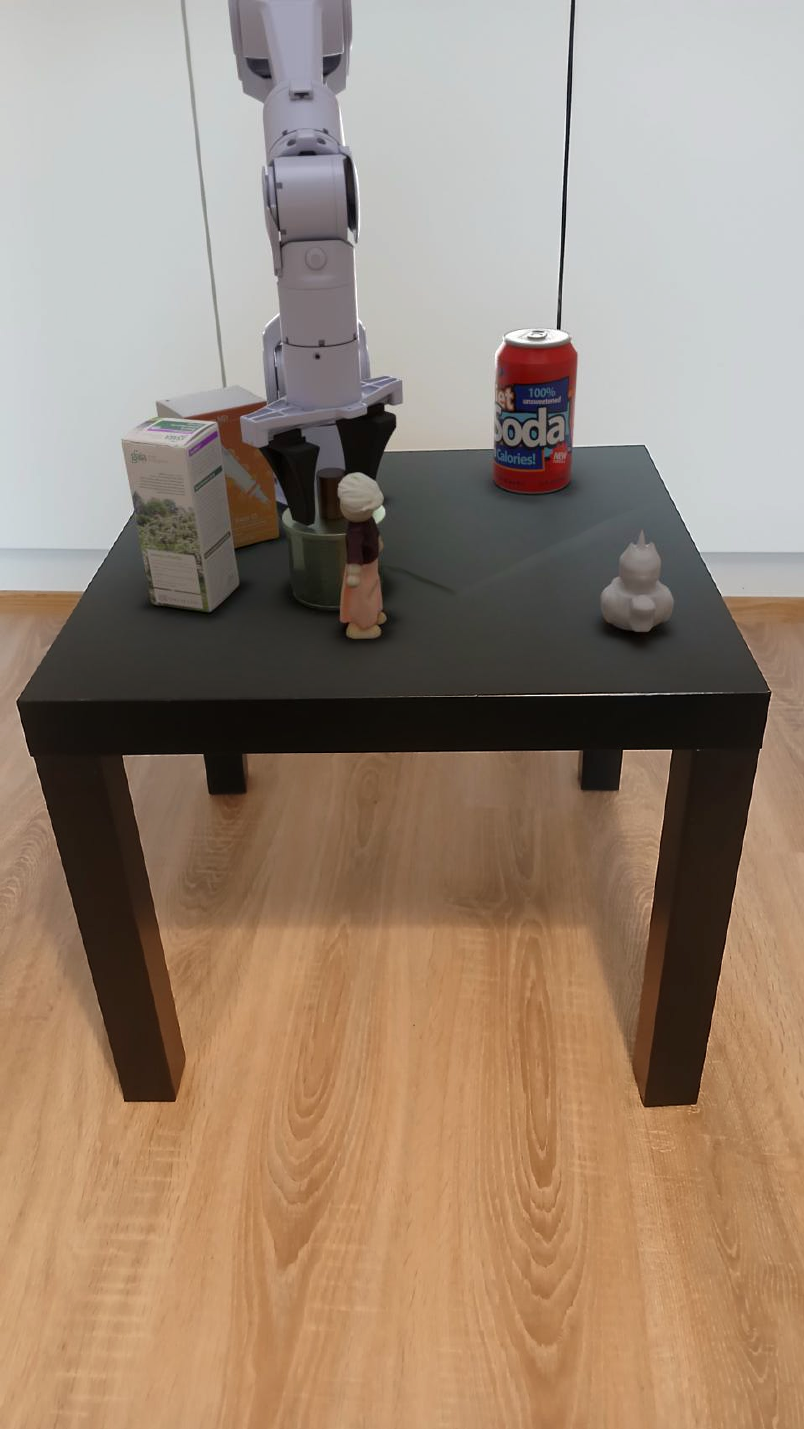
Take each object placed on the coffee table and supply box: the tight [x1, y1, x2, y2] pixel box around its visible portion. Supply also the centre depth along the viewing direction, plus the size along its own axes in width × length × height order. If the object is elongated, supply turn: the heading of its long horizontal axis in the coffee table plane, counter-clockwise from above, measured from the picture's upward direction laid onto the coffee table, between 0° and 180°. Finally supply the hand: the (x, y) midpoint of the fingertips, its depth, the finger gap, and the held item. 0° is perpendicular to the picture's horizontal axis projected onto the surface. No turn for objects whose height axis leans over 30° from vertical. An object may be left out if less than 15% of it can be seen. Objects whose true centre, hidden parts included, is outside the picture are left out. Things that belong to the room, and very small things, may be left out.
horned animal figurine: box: [600, 529, 675, 633], centre depth 80 cm, size 5×7×8 cm
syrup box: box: [120, 416, 240, 613], centre depth 85 cm, size 6×6×14 cm
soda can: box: [492, 327, 579, 495], centre depth 104 cm, size 8×8×15 cm
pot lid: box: [281, 467, 387, 541], centre depth 85 cm, size 8×8×5 cm
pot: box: [285, 527, 384, 612], centre depth 88 cm, size 8×8×6 cm
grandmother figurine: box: [338, 472, 387, 640], centre depth 80 cm, size 8×4×13 cm, turn 178°
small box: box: [155, 384, 280, 549], centre depth 96 cm, size 8×6×13 cm
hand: (332, 510), depth 85 cm, fingers open, 5 cm apart
